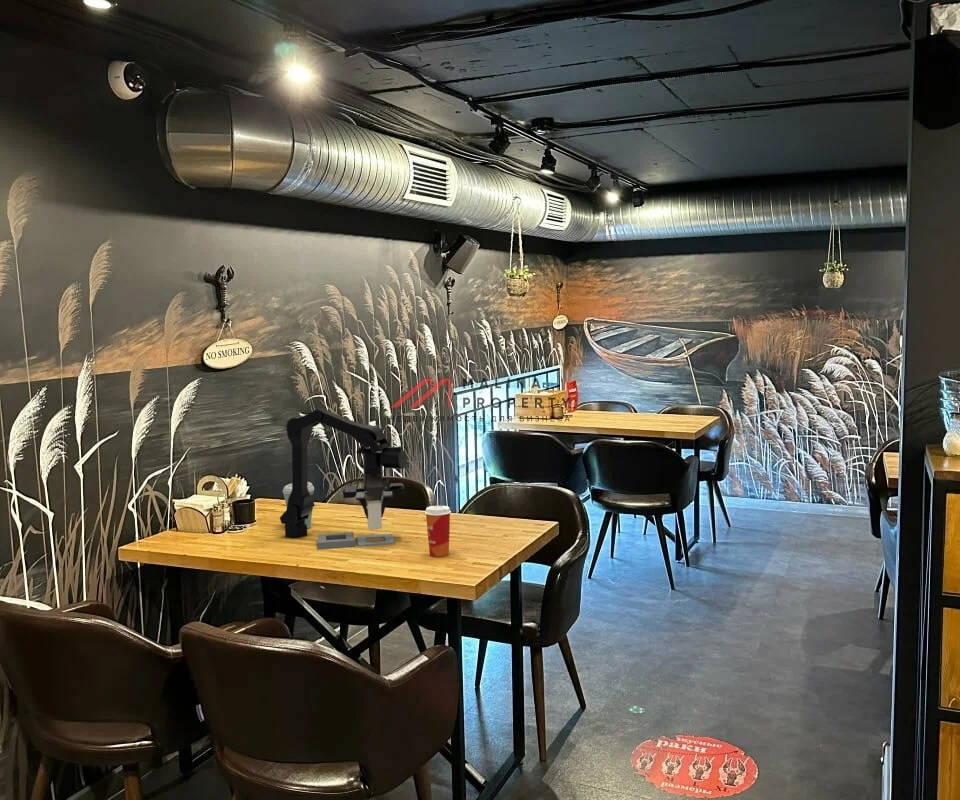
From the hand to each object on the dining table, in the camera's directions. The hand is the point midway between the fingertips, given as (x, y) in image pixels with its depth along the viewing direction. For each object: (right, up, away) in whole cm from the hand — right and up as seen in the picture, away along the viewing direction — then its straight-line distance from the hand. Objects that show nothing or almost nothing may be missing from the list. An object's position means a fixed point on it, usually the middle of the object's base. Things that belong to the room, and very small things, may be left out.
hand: (374, 518), depth 259 cm
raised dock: (-11, -9, -2) cm, 15 cm away
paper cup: (+21, -9, -12) cm, 25 cm away
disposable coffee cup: (-29, -7, +28) cm, 41 cm away
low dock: (0, -9, +1) cm, 9 cm away
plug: (0, -3, 0) cm, 3 cm away
